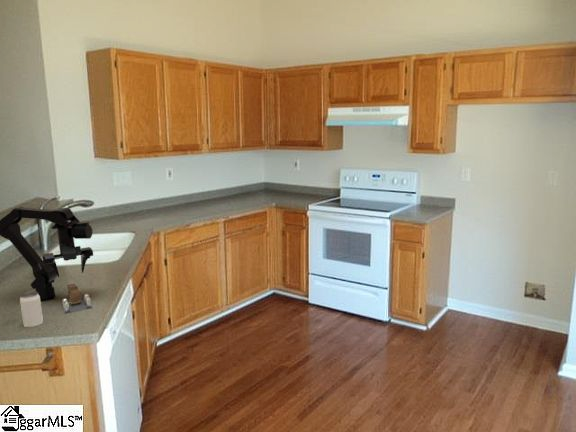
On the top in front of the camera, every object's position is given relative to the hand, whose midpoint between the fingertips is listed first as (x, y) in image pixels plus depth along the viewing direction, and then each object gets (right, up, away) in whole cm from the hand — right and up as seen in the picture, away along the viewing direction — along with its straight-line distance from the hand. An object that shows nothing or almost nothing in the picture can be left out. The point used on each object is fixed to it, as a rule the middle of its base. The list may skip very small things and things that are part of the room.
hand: (70, 274), depth 193 cm
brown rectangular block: (+2, -10, -1) cm, 11 cm away
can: (-4, -16, -22) cm, 27 cm away
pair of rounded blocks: (+7, -12, -8) cm, 16 cm away
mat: (+6, -12, -6) cm, 15 cm away
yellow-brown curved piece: (+4, -11, -4) cm, 13 cm away
